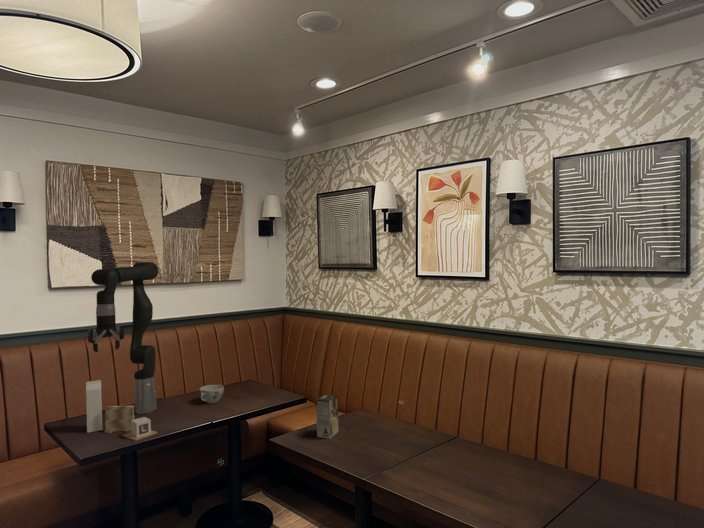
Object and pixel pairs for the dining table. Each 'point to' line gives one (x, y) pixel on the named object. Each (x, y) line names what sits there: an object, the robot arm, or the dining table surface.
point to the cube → (140, 427)
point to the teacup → (211, 393)
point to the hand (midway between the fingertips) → (106, 350)
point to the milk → (94, 406)
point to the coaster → (138, 437)
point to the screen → (118, 418)
